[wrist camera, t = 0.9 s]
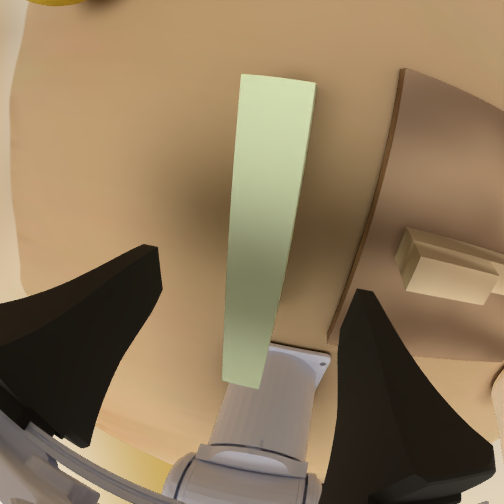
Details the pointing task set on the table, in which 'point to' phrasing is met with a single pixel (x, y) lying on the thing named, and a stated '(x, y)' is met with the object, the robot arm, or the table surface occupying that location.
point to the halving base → (437, 225)
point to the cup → (499, 405)
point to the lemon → (56, 2)
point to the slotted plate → (262, 215)
